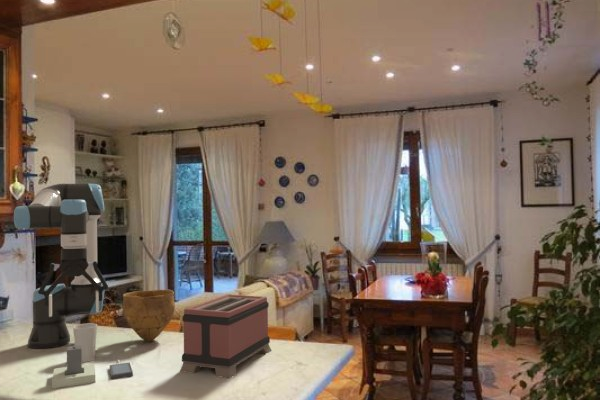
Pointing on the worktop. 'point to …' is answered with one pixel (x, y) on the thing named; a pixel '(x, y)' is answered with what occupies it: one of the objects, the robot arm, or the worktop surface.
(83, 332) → the cup
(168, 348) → the worktop surface
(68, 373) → the block
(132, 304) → the bowl
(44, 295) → the robot arm
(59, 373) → the outlet plate
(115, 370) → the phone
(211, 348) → the toaster
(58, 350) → the worktop surface
